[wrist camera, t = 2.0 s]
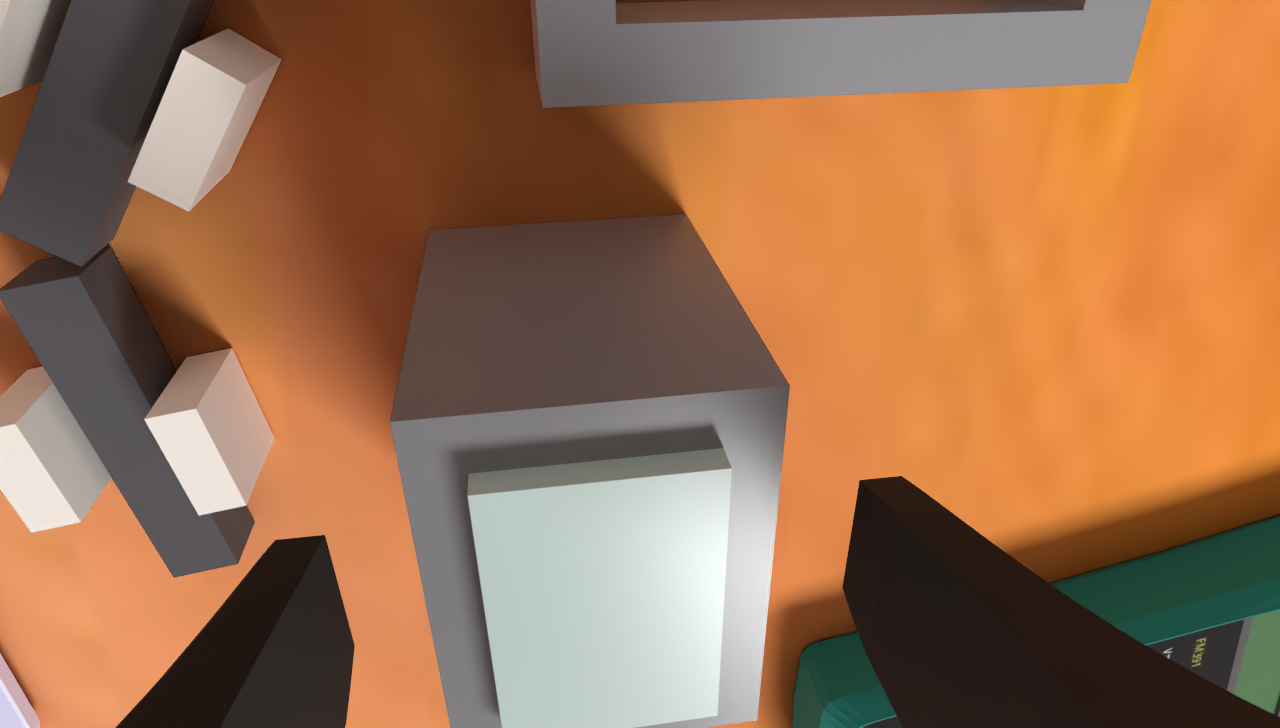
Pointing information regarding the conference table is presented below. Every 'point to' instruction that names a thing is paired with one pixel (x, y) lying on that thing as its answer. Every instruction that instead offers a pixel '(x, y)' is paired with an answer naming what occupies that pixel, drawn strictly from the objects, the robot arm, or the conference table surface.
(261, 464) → the routed cable
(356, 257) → the conference table surface
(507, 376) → the connector block
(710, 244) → the conference table surface
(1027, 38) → the frame
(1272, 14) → the conference table surface
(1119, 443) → the conference table surface
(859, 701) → the digital multimeter
